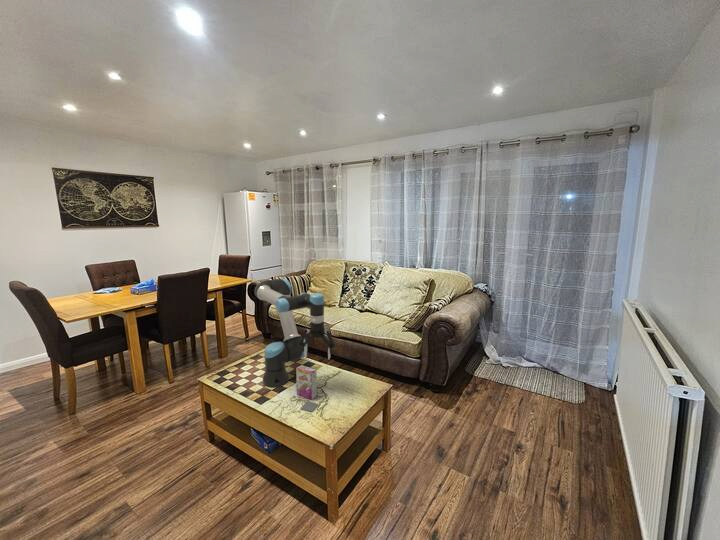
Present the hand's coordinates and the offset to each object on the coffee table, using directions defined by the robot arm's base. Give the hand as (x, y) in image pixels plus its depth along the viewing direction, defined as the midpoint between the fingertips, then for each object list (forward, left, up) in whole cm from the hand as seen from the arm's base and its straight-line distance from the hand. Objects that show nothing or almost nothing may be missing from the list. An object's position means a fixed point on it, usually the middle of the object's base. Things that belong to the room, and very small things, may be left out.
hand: (317, 357), depth 172 cm
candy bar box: (-5, -5, -22) cm, 23 cm away
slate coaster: (+2, -14, -22) cm, 26 cm away
